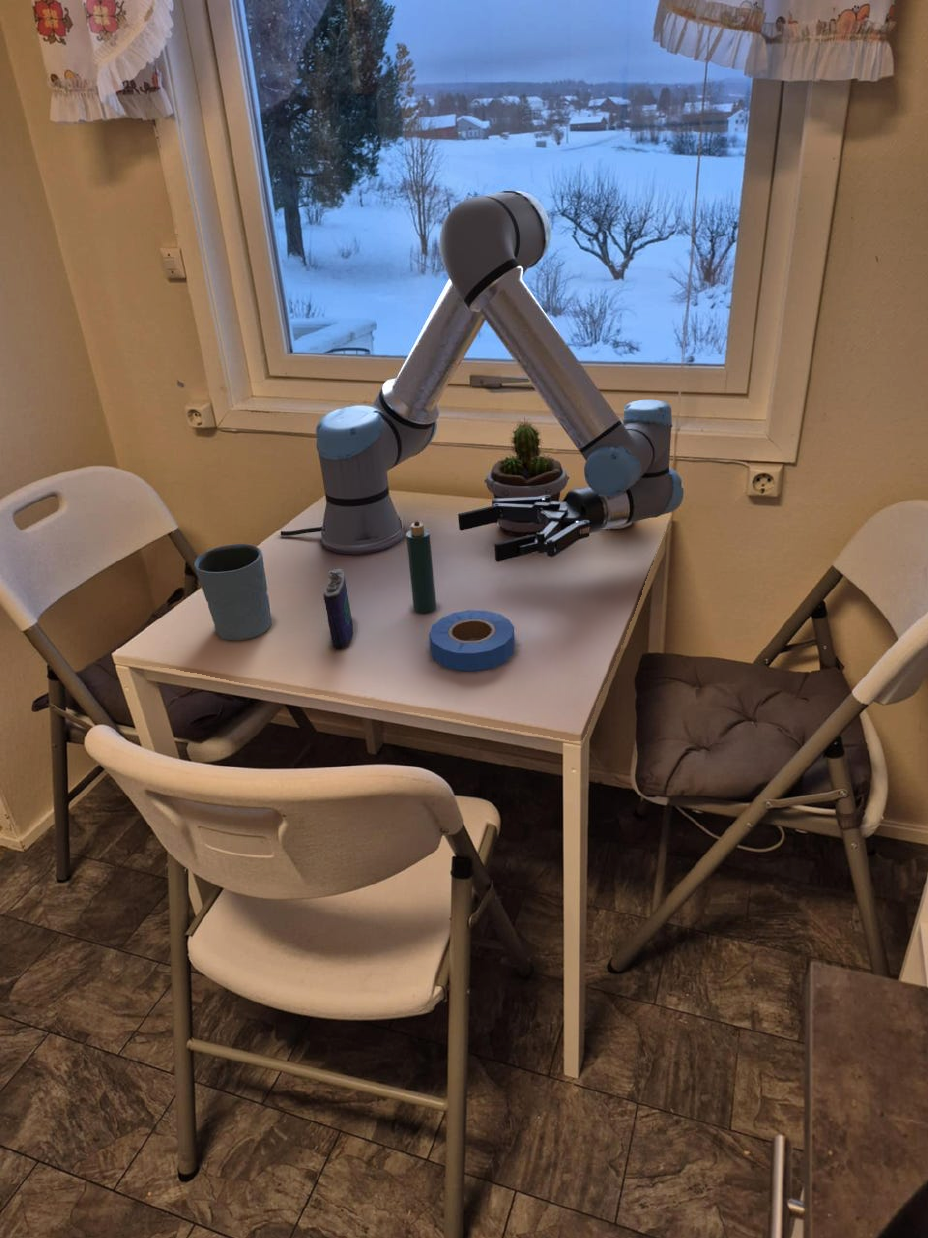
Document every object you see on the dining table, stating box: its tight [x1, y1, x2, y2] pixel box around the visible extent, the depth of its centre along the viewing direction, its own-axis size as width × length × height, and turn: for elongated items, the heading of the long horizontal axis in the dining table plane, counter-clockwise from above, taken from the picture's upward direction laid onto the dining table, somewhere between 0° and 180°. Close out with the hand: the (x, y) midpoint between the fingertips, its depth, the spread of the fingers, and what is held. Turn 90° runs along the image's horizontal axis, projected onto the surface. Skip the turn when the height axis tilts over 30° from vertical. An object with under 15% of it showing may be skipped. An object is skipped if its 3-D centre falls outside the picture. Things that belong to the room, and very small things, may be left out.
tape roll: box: [429, 609, 516, 672], centre depth 123 cm, size 12×12×3 cm
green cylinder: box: [405, 521, 437, 615], centre depth 132 cm, size 4×4×15 cm
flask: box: [322, 568, 354, 651], centre depth 127 cm, size 9×3×11 cm, turn 1°
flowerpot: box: [484, 417, 570, 537], centre depth 156 cm, size 14×15×20 cm
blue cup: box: [194, 543, 272, 642], centre depth 131 cm, size 10×10×12 cm
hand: (476, 537), depth 133 cm, fingers open, 13 cm apart
